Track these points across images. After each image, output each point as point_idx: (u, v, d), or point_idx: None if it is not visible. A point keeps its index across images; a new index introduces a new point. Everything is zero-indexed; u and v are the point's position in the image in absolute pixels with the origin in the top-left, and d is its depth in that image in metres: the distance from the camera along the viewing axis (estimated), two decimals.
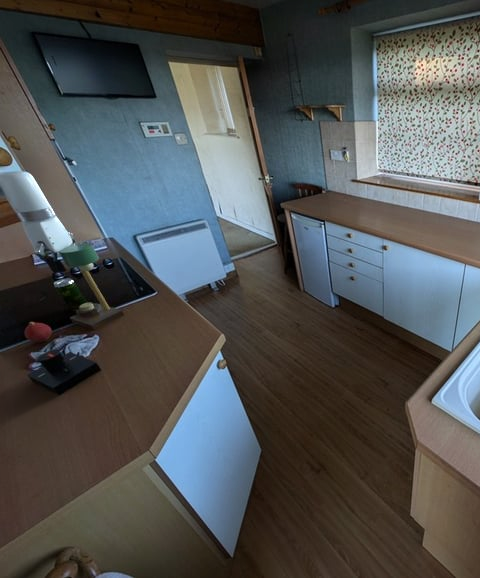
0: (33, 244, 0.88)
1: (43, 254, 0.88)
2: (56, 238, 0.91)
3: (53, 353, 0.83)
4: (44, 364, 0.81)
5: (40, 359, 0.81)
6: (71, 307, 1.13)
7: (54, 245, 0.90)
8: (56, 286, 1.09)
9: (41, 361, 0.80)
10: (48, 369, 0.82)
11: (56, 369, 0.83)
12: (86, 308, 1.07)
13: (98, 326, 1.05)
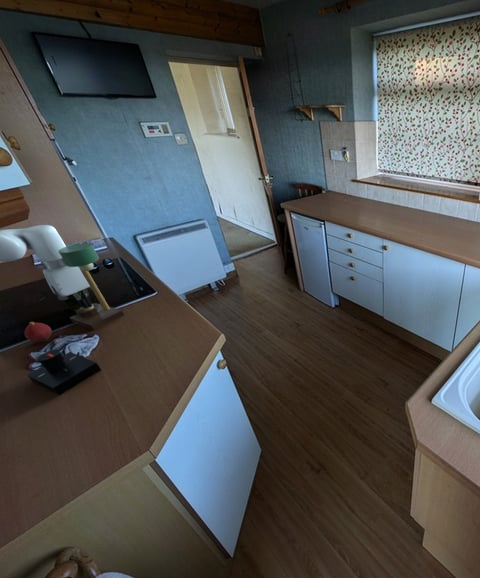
0: None
1: (65, 297, 1.02)
2: (67, 284, 1.00)
3: (53, 353, 0.83)
4: (44, 364, 0.81)
5: (40, 359, 0.81)
6: (71, 307, 1.13)
7: (62, 290, 1.00)
8: None
9: (41, 361, 0.80)
10: (48, 369, 0.82)
11: (56, 369, 0.83)
12: (87, 310, 1.08)
13: (98, 326, 1.05)
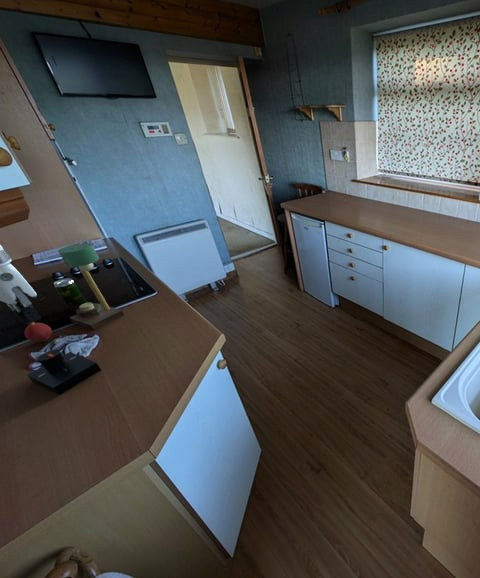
0: None
1: None
2: None
3: (53, 353, 0.83)
4: (44, 364, 0.81)
5: (40, 359, 0.81)
6: (71, 307, 1.13)
7: None
8: (56, 286, 1.09)
9: (41, 361, 0.80)
10: (48, 369, 0.82)
11: (56, 369, 0.83)
12: (86, 308, 1.07)
13: (98, 326, 1.05)
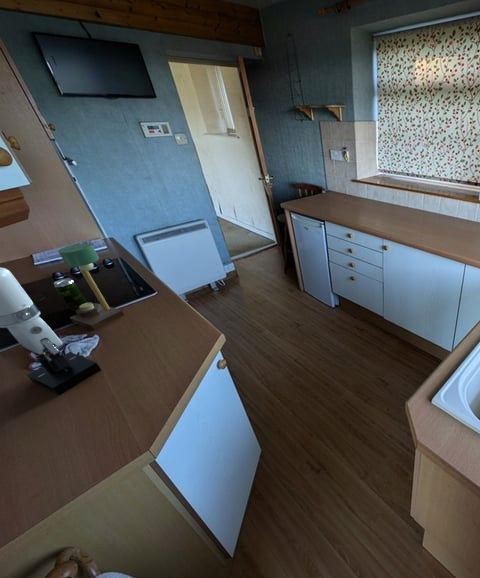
0: None
1: None
2: (17, 339, 0.77)
3: None
4: (44, 364, 0.81)
5: (40, 359, 0.81)
6: (71, 307, 1.13)
7: (18, 341, 0.79)
8: (56, 286, 1.09)
9: (41, 361, 0.80)
10: (48, 369, 0.82)
11: None
12: (86, 308, 1.07)
13: (98, 326, 1.05)
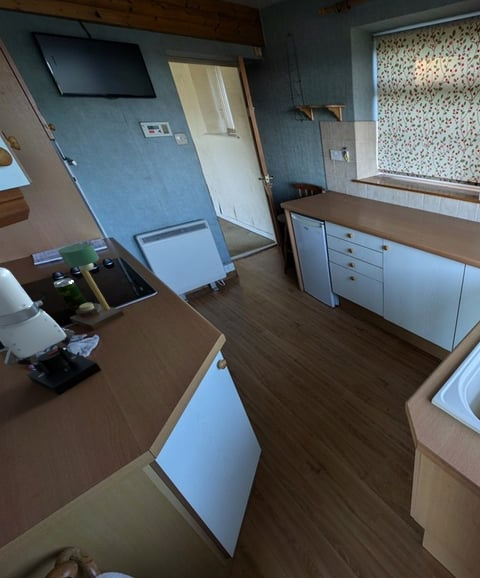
0: None
1: (15, 362, 0.76)
2: (27, 342, 0.76)
3: (49, 353, 0.83)
4: (59, 358, 0.83)
5: (53, 356, 0.82)
6: (71, 307, 1.13)
7: (20, 351, 0.75)
8: (56, 286, 1.09)
9: (56, 356, 0.82)
10: (63, 363, 0.84)
11: (67, 361, 0.85)
12: (86, 308, 1.07)
13: (98, 326, 1.05)
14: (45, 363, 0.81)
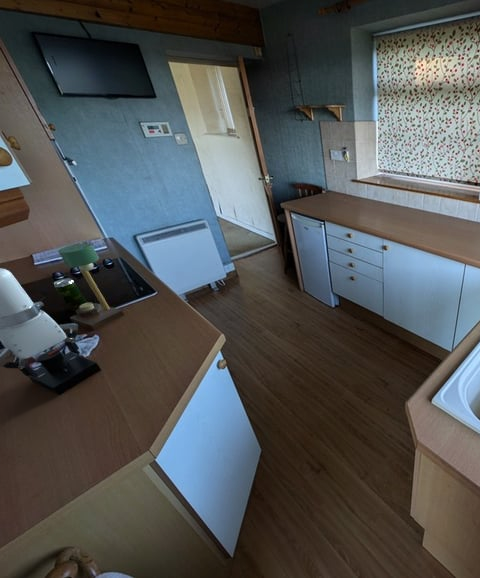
0: (5, 347, 0.76)
1: (2, 364, 0.74)
2: (28, 343, 0.76)
3: (49, 353, 0.83)
4: (60, 358, 0.83)
5: (53, 356, 0.82)
6: (71, 307, 1.13)
7: (21, 352, 0.76)
8: (56, 286, 1.09)
9: (57, 356, 0.82)
10: (63, 363, 0.84)
11: (67, 361, 0.85)
12: (86, 308, 1.07)
13: (98, 326, 1.05)
14: (45, 363, 0.81)
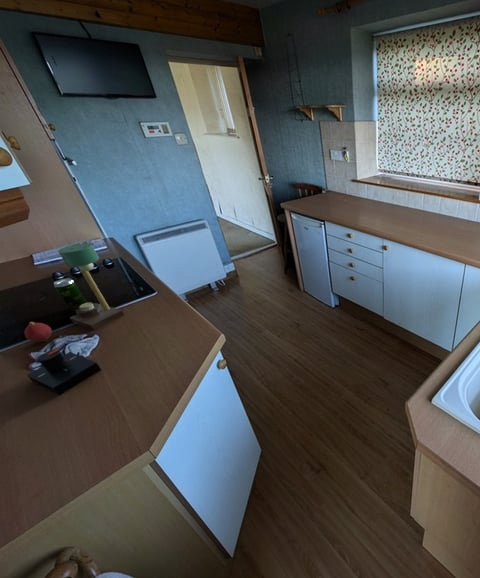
0: None
1: None
2: None
3: (49, 353, 0.83)
4: (60, 358, 0.83)
5: (53, 356, 0.82)
6: (71, 307, 1.13)
7: None
8: (56, 286, 1.09)
9: (57, 356, 0.82)
10: (63, 363, 0.84)
11: (67, 361, 0.85)
12: (86, 308, 1.07)
13: (98, 326, 1.05)
14: (45, 363, 0.81)
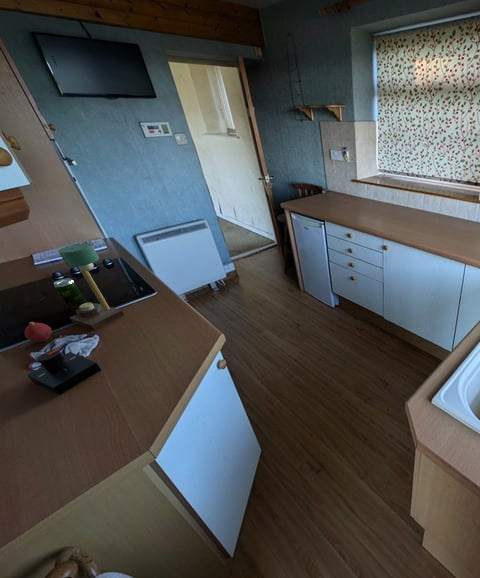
0: None
1: None
2: None
3: (49, 353, 0.83)
4: (60, 358, 0.83)
5: (53, 356, 0.82)
6: (71, 307, 1.13)
7: None
8: (56, 286, 1.09)
9: (57, 356, 0.82)
10: (63, 363, 0.84)
11: (67, 361, 0.85)
12: (86, 308, 1.07)
13: (98, 326, 1.05)
14: (45, 363, 0.81)
